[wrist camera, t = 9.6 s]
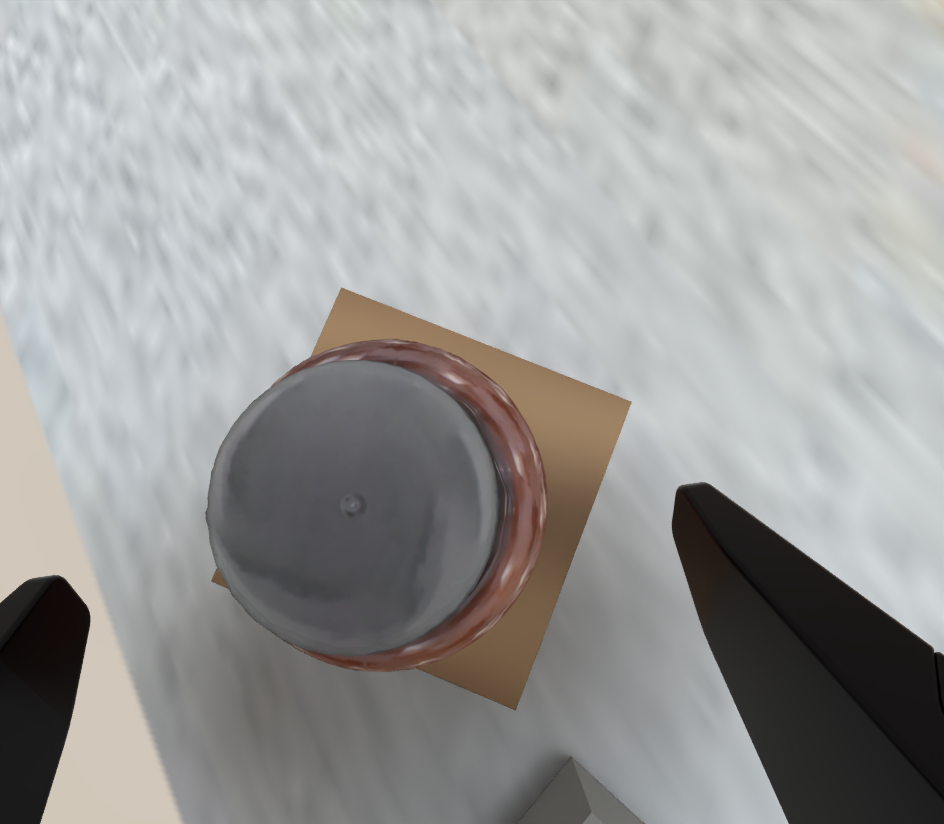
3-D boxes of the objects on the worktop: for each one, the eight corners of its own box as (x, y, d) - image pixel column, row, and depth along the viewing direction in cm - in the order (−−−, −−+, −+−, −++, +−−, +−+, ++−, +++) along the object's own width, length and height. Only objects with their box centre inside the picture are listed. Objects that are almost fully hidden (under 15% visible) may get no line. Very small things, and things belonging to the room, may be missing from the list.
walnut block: (509, 680, 22) (515, 710, 19) (246, 569, 22) (211, 581, 19) (611, 413, 23) (631, 401, 20) (358, 313, 23) (341, 287, 20)
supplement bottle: (510, 391, 20) (557, 267, 9) (530, 584, 19) (610, 718, 8) (321, 410, 20) (123, 307, 9) (334, 603, 19) (137, 766, 8)
